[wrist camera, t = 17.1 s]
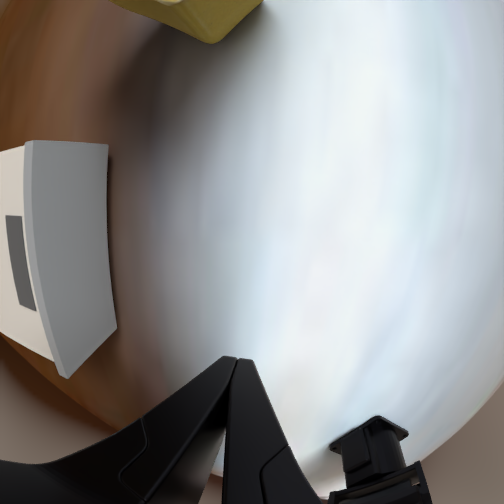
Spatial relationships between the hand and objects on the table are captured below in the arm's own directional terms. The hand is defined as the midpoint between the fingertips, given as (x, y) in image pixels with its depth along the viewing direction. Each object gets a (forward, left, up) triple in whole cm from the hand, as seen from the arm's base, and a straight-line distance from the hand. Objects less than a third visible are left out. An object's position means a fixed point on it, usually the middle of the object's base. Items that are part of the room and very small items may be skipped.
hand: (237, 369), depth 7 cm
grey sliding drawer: (+14, +10, -10) cm, 20 cm away
